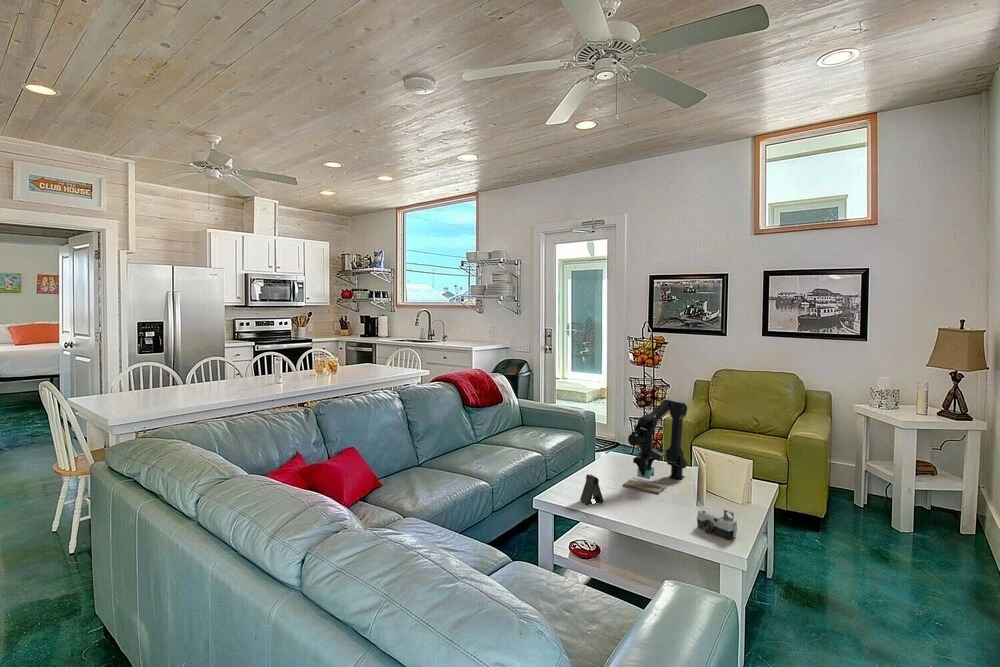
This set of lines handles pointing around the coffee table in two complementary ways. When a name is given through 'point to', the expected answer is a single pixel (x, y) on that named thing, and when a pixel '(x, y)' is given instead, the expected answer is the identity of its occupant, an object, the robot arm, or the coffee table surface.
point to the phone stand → (591, 490)
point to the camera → (717, 523)
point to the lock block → (646, 472)
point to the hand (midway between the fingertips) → (645, 474)
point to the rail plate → (645, 485)
